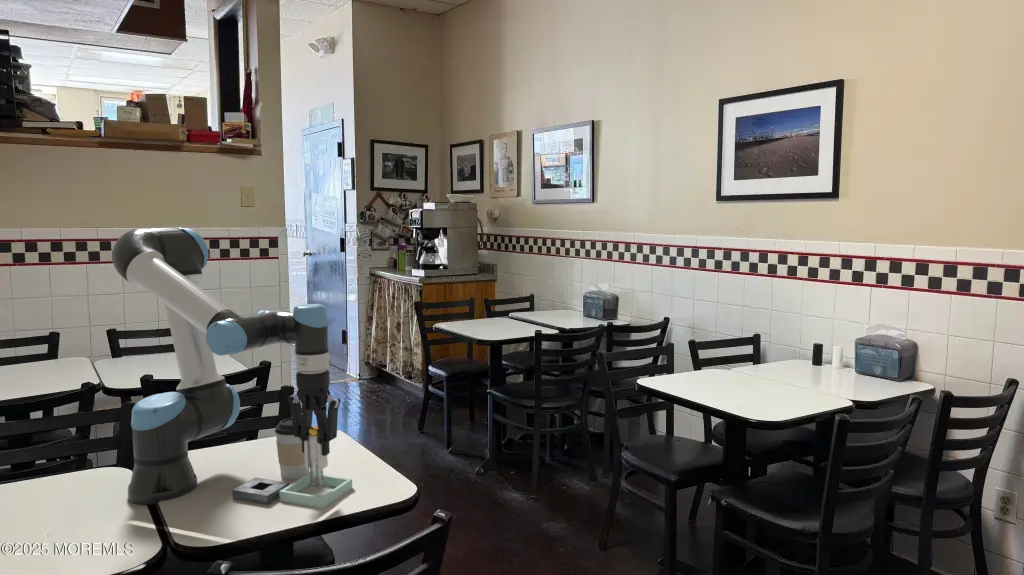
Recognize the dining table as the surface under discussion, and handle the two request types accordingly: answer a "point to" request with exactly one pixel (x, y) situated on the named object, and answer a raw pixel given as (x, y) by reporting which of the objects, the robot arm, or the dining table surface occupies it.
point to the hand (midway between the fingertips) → (316, 466)
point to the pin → (314, 458)
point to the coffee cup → (290, 451)
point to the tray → (292, 496)
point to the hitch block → (259, 491)
